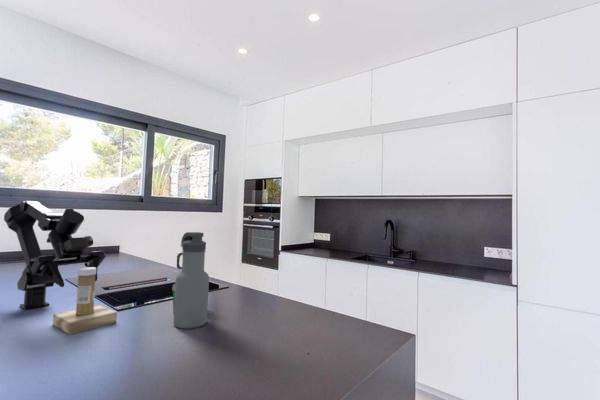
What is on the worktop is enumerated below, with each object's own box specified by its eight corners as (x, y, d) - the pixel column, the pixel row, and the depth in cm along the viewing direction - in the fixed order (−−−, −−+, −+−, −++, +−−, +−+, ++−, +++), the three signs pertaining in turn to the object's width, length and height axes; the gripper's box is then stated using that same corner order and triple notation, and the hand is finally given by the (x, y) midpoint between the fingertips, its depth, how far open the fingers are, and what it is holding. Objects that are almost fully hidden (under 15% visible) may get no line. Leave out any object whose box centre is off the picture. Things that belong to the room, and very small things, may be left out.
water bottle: (167, 322, 95) (171, 231, 96) (196, 315, 102) (200, 231, 103) (182, 332, 88) (187, 233, 89) (213, 324, 95) (217, 233, 96)
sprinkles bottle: (97, 311, 94) (100, 267, 95) (86, 316, 90) (89, 269, 91) (82, 310, 95) (85, 266, 95) (71, 315, 90) (74, 268, 91)
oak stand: (52, 324, 91) (53, 314, 91) (97, 314, 101) (98, 304, 101) (70, 334, 84) (71, 323, 84) (116, 322, 94) (116, 312, 94)
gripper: (38, 228, 89) (56, 271, 84) (104, 227, 106) (122, 263, 100) (23, 253, 93) (39, 296, 87) (89, 248, 109) (106, 283, 104)
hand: (80, 283), depth 95 cm, fingers open, 9 cm apart
